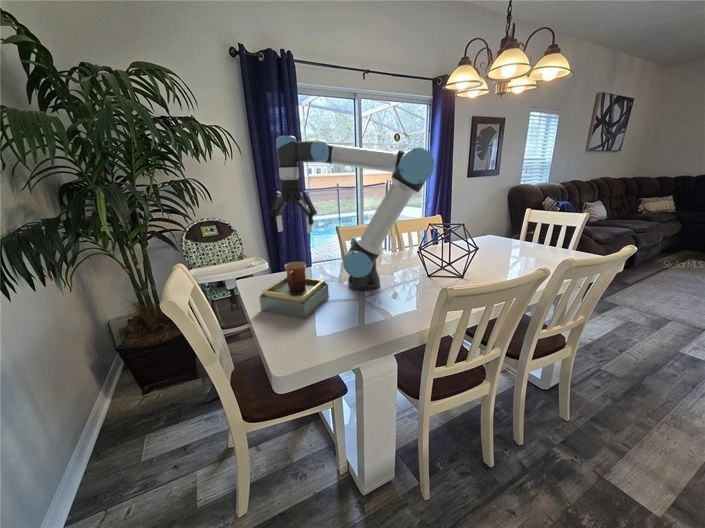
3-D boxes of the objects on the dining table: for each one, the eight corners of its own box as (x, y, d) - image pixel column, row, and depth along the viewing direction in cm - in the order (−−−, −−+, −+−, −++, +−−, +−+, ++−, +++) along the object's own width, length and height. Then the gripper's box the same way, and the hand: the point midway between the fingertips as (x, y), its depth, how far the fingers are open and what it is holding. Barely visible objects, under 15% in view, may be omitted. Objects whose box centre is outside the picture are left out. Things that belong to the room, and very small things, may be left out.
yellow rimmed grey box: (328, 298, 125) (327, 279, 122) (305, 321, 107) (303, 299, 104) (283, 291, 132) (281, 273, 130) (255, 311, 115) (252, 290, 112)
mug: (291, 283, 123) (289, 261, 120) (311, 285, 122) (309, 262, 118) (279, 295, 112) (277, 271, 109) (300, 297, 110) (298, 272, 107)
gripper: (322, 177, 113) (326, 230, 119) (267, 179, 120) (273, 229, 127) (314, 178, 106) (318, 235, 113) (257, 180, 113) (264, 232, 120)
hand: (294, 231), depth 120 cm, fingers open, 13 cm apart
